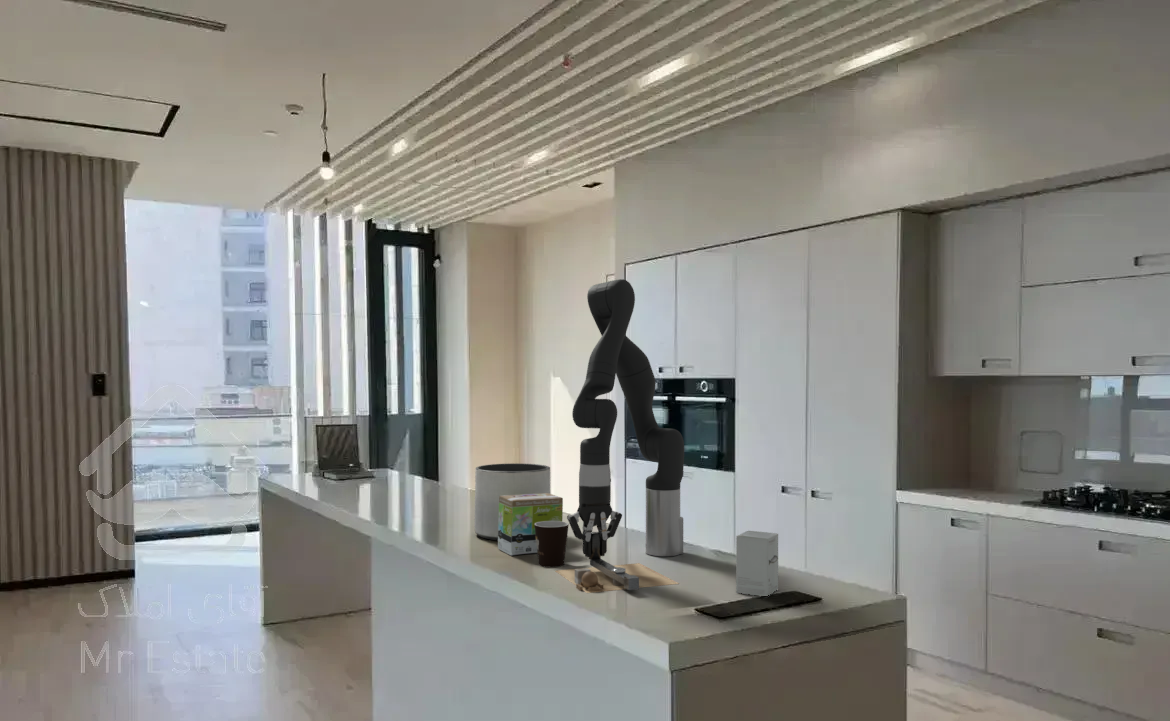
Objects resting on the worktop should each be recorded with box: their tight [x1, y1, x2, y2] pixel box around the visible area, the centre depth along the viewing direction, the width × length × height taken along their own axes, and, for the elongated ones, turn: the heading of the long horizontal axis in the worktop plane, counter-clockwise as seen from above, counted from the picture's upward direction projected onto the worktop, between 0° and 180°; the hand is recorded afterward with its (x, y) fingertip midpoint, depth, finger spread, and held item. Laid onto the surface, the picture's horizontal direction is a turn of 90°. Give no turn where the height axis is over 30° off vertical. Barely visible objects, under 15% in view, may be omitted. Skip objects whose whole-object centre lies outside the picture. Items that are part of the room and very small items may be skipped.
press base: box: [554, 562, 680, 594], centre depth 185 cm, size 23×21×4 cm
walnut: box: [582, 571, 598, 588], centre depth 176 cm, size 4×4×4 cm
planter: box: [473, 462, 551, 542], centre depth 241 cm, size 23×23×20 cm
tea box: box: [497, 493, 564, 556], centre depth 220 cm, size 15×10×15 cm, turn 117°
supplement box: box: [735, 530, 779, 597], centre depth 178 cm, size 7×7×13 cm
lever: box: [588, 531, 640, 591], centre depth 182 cm, size 24×3×8 cm, turn 21°
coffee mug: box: [534, 521, 570, 568], centre depth 205 cm, size 12×9×10 cm
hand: (594, 555), depth 192 cm, fingers closed on lever, 3 cm apart
